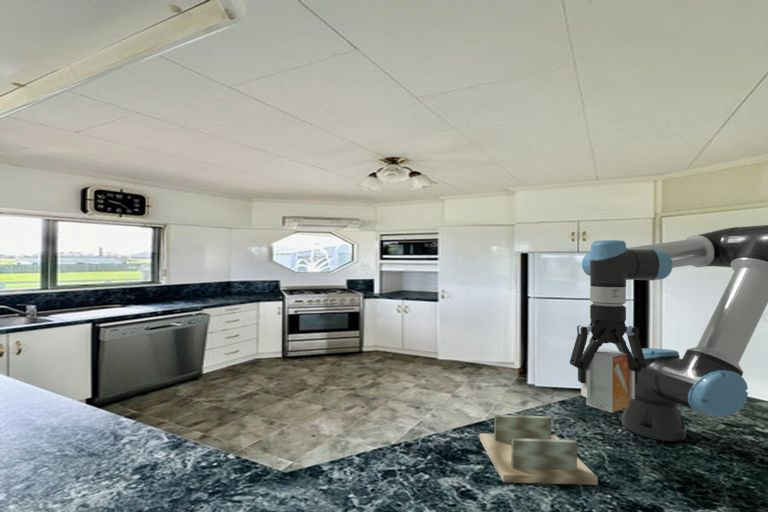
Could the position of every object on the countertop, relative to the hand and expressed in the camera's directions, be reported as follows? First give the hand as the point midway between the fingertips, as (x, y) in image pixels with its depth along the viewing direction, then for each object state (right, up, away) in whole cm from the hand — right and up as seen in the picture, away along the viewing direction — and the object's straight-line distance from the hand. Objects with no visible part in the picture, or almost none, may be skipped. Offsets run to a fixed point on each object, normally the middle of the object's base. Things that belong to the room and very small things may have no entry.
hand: (607, 396), depth 93 cm
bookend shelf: (-19, -14, -1) cm, 24 cm away
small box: (0, -2, 0) cm, 2 cm away
